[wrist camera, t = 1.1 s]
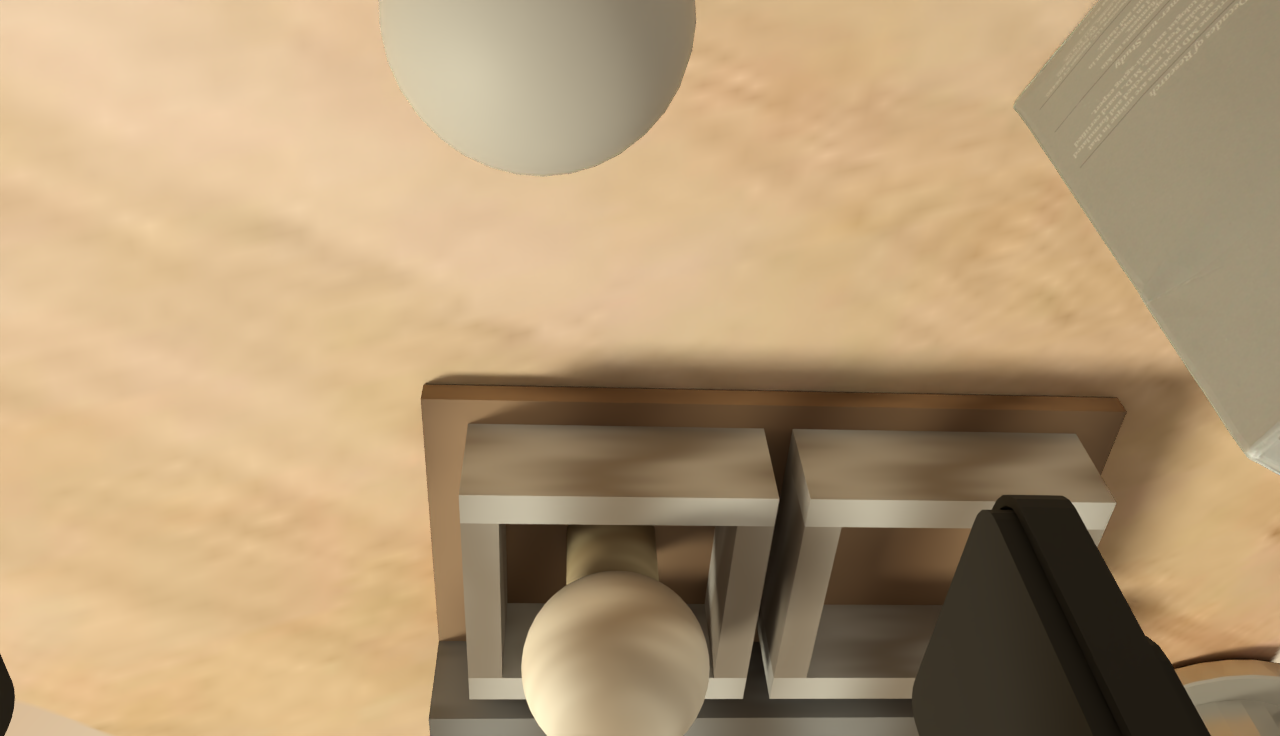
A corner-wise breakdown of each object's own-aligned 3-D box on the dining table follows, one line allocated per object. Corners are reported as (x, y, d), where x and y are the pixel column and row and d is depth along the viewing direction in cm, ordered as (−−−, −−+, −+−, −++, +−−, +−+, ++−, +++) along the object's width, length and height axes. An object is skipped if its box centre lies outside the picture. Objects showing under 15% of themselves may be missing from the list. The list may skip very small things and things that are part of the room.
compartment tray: (1117, 397, 38) (1261, 613, 30) (1006, 673, 46) (1094, 897, 38) (423, 384, 36) (380, 610, 28) (444, 673, 45) (415, 907, 37)
